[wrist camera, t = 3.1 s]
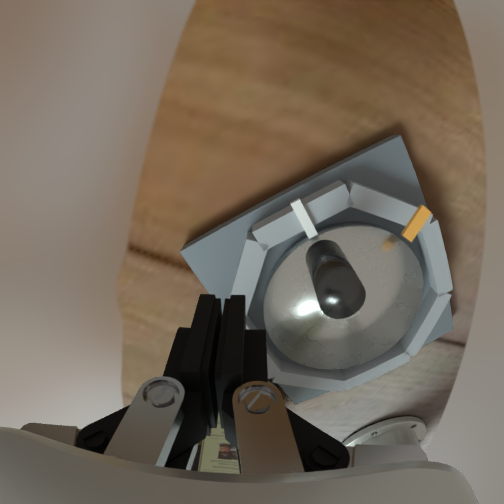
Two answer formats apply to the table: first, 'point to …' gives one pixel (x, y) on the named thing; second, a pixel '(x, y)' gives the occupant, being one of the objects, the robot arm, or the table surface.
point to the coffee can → (216, 453)
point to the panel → (306, 223)
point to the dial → (342, 295)
